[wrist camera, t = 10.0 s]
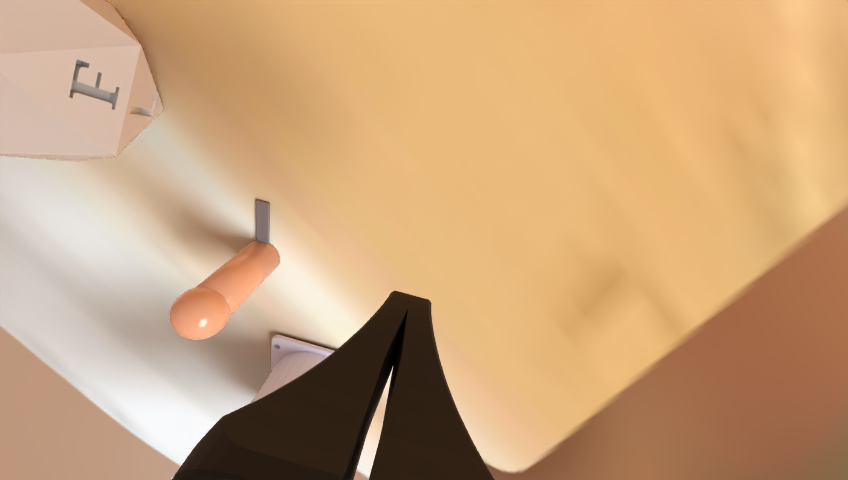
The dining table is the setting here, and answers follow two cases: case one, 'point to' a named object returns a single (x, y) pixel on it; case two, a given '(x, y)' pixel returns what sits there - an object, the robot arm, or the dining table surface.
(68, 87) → the die
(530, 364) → the dining table surface
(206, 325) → the pair of orange pieces
